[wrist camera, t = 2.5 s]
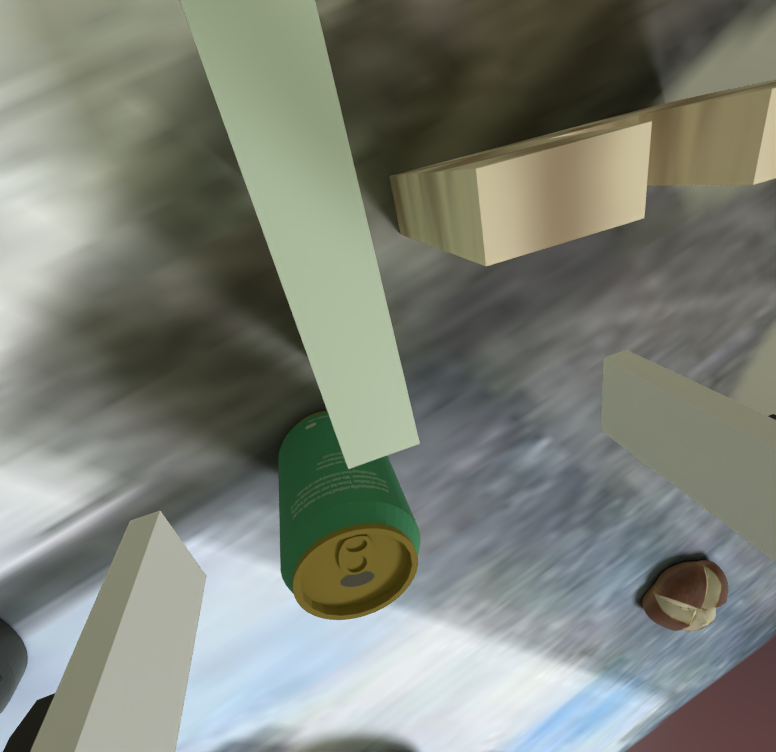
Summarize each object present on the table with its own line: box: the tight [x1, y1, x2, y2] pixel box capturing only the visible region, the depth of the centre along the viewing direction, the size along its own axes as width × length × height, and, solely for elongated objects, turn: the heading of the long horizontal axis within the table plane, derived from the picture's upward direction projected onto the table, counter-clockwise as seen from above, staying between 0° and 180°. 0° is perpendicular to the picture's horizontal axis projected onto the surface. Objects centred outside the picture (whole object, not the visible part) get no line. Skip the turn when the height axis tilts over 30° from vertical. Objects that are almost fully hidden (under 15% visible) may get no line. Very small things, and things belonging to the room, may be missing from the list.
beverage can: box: [278, 410, 420, 620], centre depth 27 cm, size 8×8×12 cm
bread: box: [642, 560, 728, 631], centre depth 54 cm, size 11×11×5 cm
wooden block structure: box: [389, 80, 776, 266], centre depth 21 cm, size 20×4×12 cm, turn 103°
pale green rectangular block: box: [180, 0, 420, 469], centre depth 19 cm, size 18×4×12 cm, turn 13°
